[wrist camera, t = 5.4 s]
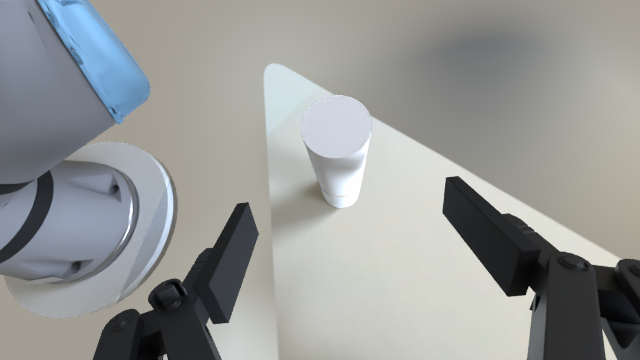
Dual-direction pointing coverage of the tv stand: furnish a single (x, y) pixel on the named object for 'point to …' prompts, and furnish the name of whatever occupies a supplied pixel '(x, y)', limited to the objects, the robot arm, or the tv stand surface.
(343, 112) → the tube
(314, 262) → the tv stand surface
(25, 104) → the robot arm
